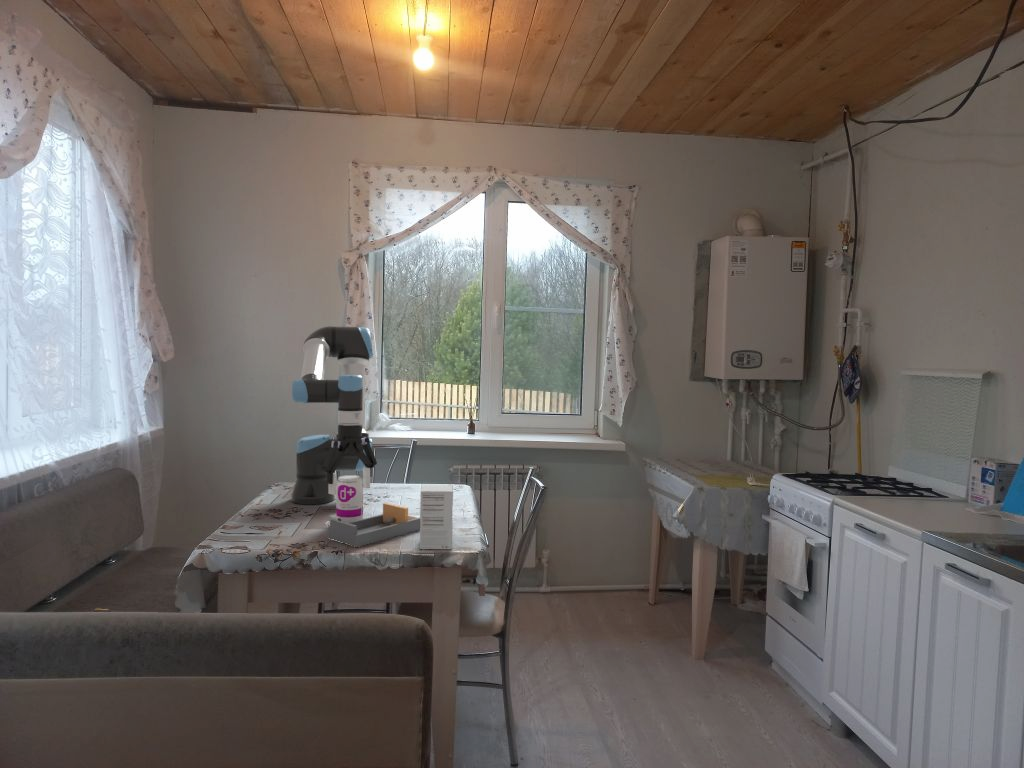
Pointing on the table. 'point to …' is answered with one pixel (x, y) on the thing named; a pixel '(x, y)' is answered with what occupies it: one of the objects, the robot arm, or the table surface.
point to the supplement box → (436, 516)
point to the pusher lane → (370, 530)
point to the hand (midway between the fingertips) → (349, 490)
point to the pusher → (394, 514)
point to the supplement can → (349, 498)
